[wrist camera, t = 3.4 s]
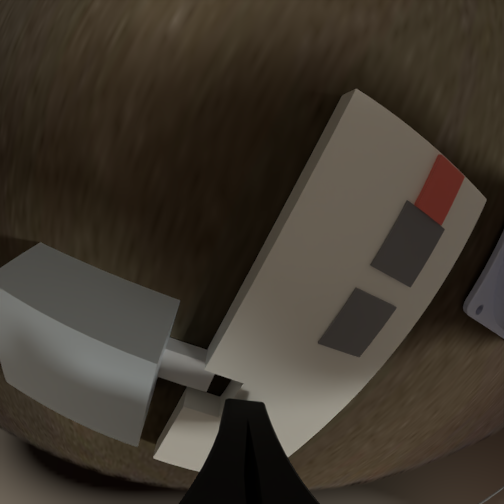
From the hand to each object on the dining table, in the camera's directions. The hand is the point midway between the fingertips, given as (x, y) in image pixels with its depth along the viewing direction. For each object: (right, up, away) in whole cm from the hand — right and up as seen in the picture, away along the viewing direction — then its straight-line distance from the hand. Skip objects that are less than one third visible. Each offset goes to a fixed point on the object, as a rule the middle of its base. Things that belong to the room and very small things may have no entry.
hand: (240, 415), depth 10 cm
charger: (-6, +3, +1) cm, 7 cm away
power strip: (+2, +2, +1) cm, 3 cm away
